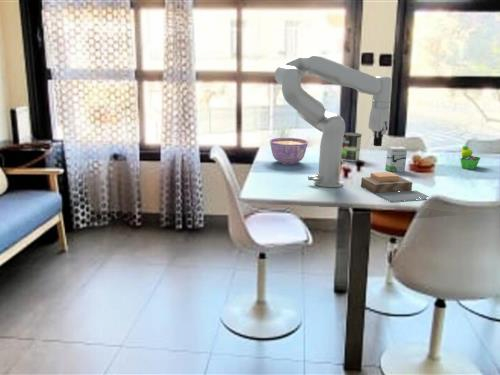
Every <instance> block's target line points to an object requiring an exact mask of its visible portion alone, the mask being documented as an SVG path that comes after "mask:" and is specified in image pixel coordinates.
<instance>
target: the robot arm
mask: <svg viewBox="0 0 500 375" xmlns="http://www.w3.org/2000/svg"><path fill="white" fill-rule="evenodd" d="M307 75H310V76H313V77H315V78H318V79H320V80H324V81H326V82H329V83H331V84H335V85H338V86H341V87H347V88H351V89H354V90H356V91H357V92H358V93H361V94H366V95H371V96H372V97H371V98H372V101H371V108H370V113H369V118H368V128H369V130H371V132H373V133H372V134H373V146H374V147H382V143H383V137H384V136H385V135H387V132H388V131H389V126H390V125H389V124H390V106H391V105H390V101H391V93H392V92H391V91H392V78H391V77H390V76H383V75H381V76H380V75H379V76H374V75H371V74H369V73H365V72H363V71H360V70H357V69H355V68H351V67H350V66H347V65H344V64H342V63H339V62H337V61H333V60H332V59H328V58H326V57H324V56H321V55H318V54H314V53H313V54H312V53H307V54H306V53H305V54H303V55H301V56H299V57H296V58H294V59H292V60H289V61H288V62H286V63H284V64H281V65H279V66H278V67H277V68H276V69H275V72H274V79H275V81H276V83H277V84H279V85H280V86H281V92H282V96H283V98H284V101H285V102H286V103H287V104H289V106H291V107H292V108H293V109H294V110H296V112H297V114H298V115H299V117H300V118H302V119H303V121H306V122H307V123H308V124H309V125H310V126H312V127H313V128H315V129H316V130H318V131H319V132H321V133H322V135H321V138H320V145H319V157H318V158H319V162H318V164H319V165H318V173H317V172H316V174H314V175H307V179H308V181H313V182H314V185H316V186H318V187H321V188H330V189H331V188H333V189H334V188H340V187H342V186H344V182H343V181H342V180H340V178H341V165H342V160H341V154H342V142H343V136H344V133H346V123H345V120H344V118H343V117H342V116H341V115H339V114H337V113H334V112H331V111H329V110H328V109H326V108H325V106H324V104H323V103H322V102H321V101H319V100H318V99H316V98H315V97H313V96H312V95H310V94H309V93H308V92H307V91H306V90H304V88H303V86H302V84H301V83H302V82H301V80H302V78H303V77H304V76H307Z"/></svg>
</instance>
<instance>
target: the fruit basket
mask: <svg viewBox="0 0 500 375" xmlns="http://www.w3.org/2000/svg"><path fill="white" fill-rule="evenodd" d="M473 153H474V152H473V150H472V149H471V148H470V147H469V146H468V145H462V148H461V158H460V165H461V169H465V170H474V169H475V168H476V167H478V164H479V162H480V160H481V157H479V156H474V155H473Z"/></svg>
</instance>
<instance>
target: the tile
mask: <svg viewBox="0 0 500 375" xmlns="http://www.w3.org/2000/svg"><path fill="white" fill-rule="evenodd" d="M369 177H371V178H373V179H375V180H377V181H394V180H399V177H400V175H398V174H396V173H393V172H390V171H386V172H385V171H384V172H370V175H369Z"/></svg>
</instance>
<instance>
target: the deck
mask: <svg viewBox="0 0 500 375" xmlns="http://www.w3.org/2000/svg"><path fill="white" fill-rule="evenodd" d="M360 183H361V184H360V187H362V188H363V189H365V190H367V191H368V192H371V193H372V194H373V195H374V194H375V193H385V192H398V191H413V190H412V188H413V181H410V180H408V179H406V178H404V177H401V176H399V180H394V181H377V180H375V179H373V178H371V177H370V176H366V177H364V176H363V177H361V181H360ZM375 195H376V194H375Z"/></svg>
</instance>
